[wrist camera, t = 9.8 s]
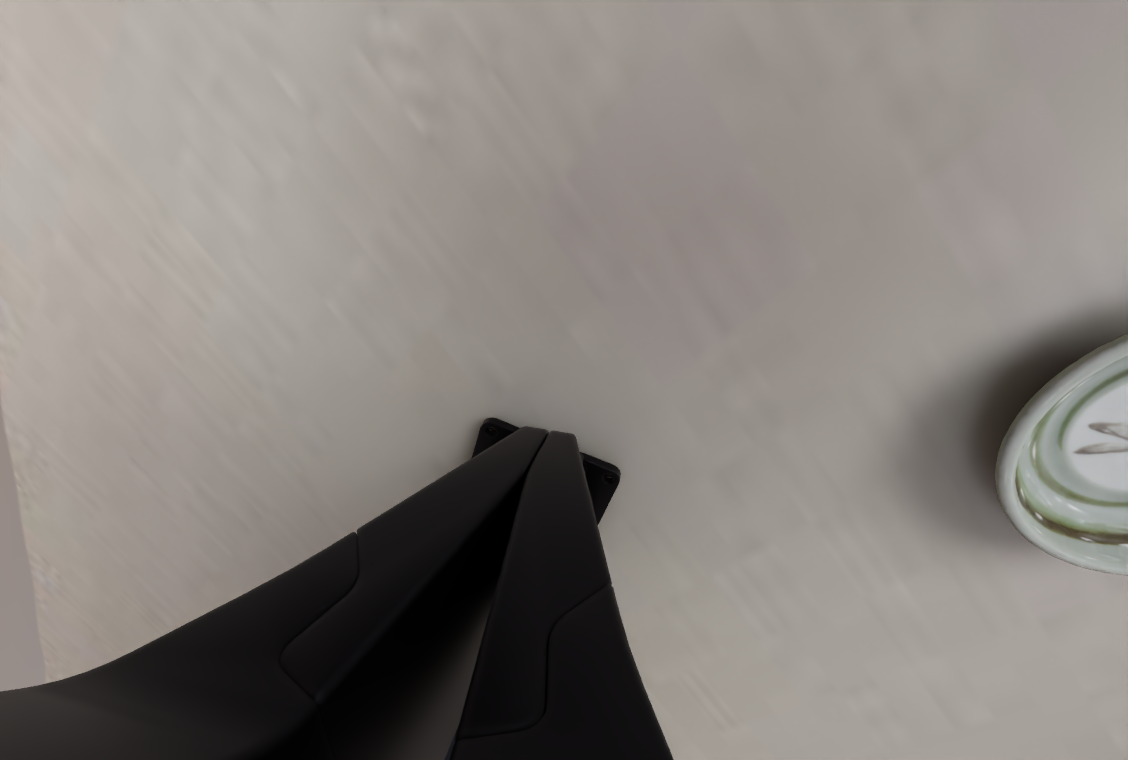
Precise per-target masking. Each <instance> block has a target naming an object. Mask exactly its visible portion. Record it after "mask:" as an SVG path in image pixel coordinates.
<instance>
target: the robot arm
mask: <svg viewBox="0 0 1128 760" xmlns="http://www.w3.org/2000/svg"><path fill="white" fill-rule="evenodd" d="M489 427H491V428H493V429H495V430H496V432H492V431H491V430H490V429H489ZM606 474H609V475H612V476H613V477H612V478H608V477H606V476H605V475H606ZM620 476H621V473H620V470H619V469H618V468H617V467H616V466H614V465H612V464H610V463H607V462H605V461H602V460H600V459H597V458H594V457H592V456H589V455H587V454H584V453H582V452H580V451H579V448H578V444H577V440H576V437H575V435H574V434H571V433H564V432H558V431H551V432H550V433H549V432H548V431H547V430H545V429H540V428H534V427H528V426H525V427H522V428H519V427H516V426H514V425H511V424H509V423H506V422H504V421H501V420H499V419H496V418H488V419H486V420H485V421H484V423H483V425H482V426H481V428H480V431H479V435H478V438H477V441H476V445H475V448H474V452H473V455H472V458H471V459H470V460H468V461H467V462H465V463H464V464H462V465H460V466H459V467H457V468H456V469H454V470H452V471H451V472H449V473H447V474H446V475H444V476H443V477H441V478H439V479H438V480H436V481H435V482H433V483H431V484H430V485H428V486H426V487H425V488H423V489H422V490H420V491H418V492H417V493H415V494H414V495H412V496H410V497H409V498H407V499H405V500H404V501H402V502H401V503H399V504H397V505H396V506H394V507H393V508H391V509H389V510H388V511H386V512H384V513H383V514H381V515H380V516H378V517H376V518H375V519H373V520H372V521H370V522H368V523H367V524H365V525H363V526H362V527H360V528H359V529H358V530H357V534H356V533H355V532H352V533H350V534H349V535H347V536H345V537H344V538H342V539H340V540H339V541H337V542H336V543H334V544H332V545H331V546H329V547H327V548H326V549H324V550H322V551H321V552H319V553H317V554H316V555H314V556H312V557H310V558H309V559H307V560H305V561H304V562H302V563H300V564H299V565H297V566H295V567H293V568H292V569H290V570H288V571H286V572H284V573H283V574H281V575H279V576H277V577H275V578H273V579H271V580H269V581H268V582H266V583H264V584H262V585H260V586H258V587H256V588H255V589H253V590H251V591H249V592H247V593H245V594H243V595H241V596H239V597H237V598H236V599H234V600H232V601H230V602H228V603H226V604H224V605H222V606H220V607H218V608H216V609H214V610H212V611H210V612H208V613H206V614H204V615H202V616H201V617H199V618H197V619H195V620H193V621H191V622H189V623H187V624H185V625H183V626H181V627H179V628H177V629H175V630H173V631H171V632H169V633H168V634H166V635H164V636H162V637H160V638H158V639H156V640H154V641H152V642H150V643H148V644H146V645H144V646H142V647H140V648H138V649H136V650H134V651H133V652H131V653H128V654H126V655H124V656H122V657H120V658H118V659H116V660H114V661H112V662H110V663H107V664H105V665H102V666H100V667H97V668H95V669H92V670H90V671H87V672H84V673H81V674H78V675H75V676H72V677H69V678H66V679H63V680H59V681H55V682H51V683H46V684H42V685H38V686H33V687H27V688H22V689H15V690H8V691H2V692H0V760H673V757H672V755H671V752H670V750H669V747H668V745H667V742H666V740H665V737H664V735H663V732H662V730H661V727H660V725H659V723H658V720H657V718H656V715H655V713H654V710H653V708H652V705H651V703H650V700H649V698H648V695H647V693H646V690H645V688H644V685H643V683H642V680H641V677H640V674H639V672H638V669H637V666H636V663H635V661H634V658H633V655H632V652H631V650H630V647H629V644H628V640H627V637H626V633H625V630H624V627H623V623H622V620H621V616H620V613H619V608H618V605H617V601H616V597H615V593H614V589H613V587H612V586H611V585H612V582H611V578H610V574H609V570H608V566H607V562H606V558H605V554H604V550H603V546H602V542H601V537H600V533H599V529H598V524H599V522H600V520H601V518H602V516H603V514H604V512H605V510H606V508H607V506H608V504H609V502H610V500H611V498H612V496H613V494H614V492H615V490H616V488H617V486H618V484H619V481H620Z"/></svg>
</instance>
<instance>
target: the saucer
mask: <svg viewBox="0 0 1128 760" xmlns="http://www.w3.org/2000/svg"><path fill="white" fill-rule="evenodd" d="M995 483H996V491H997V495H998V498H999V501H1000V503H1001V506H1002V508H1003V510H1004V512H1005V514H1006V516H1007V517H1008V519H1009V520H1010V522H1011V523H1012V524H1013V526H1014V527H1015V528H1016V529H1017V530H1018V531H1019V532H1020V534H1022V535H1023V536H1024V537H1025V538H1026V539H1027V540H1028V541H1029V542H1031V543H1032V544H1034V545H1035V546H1037V547H1038V548H1040V549H1041V550H1043V551H1045V552H1046V553H1048V554H1050V555H1052V556H1054V557H1056V558H1058V559H1061V560H1063V561H1066V562H1068V563H1071V564H1073V565H1076V566H1080V567H1083V568H1086V569H1091V570H1095V571H1100V572H1105V573H1111V574H1117V575H1127V576H1128V334H1126V335H1124V336H1121V337H1119V338H1117V339H1115V340H1113V341H1111V342H1109V343H1107V344H1104V345H1102V346H1100V347H1099V348H1097V349H1095V350H1093V351H1092V352H1090V353H1088V354H1086V355H1085V356H1083V357H1082V358H1080V359H1079V360H1078V361H1076V362H1074V363H1073V364H1071V365H1070V366H1068V367H1067V368H1066V369H1064V370H1063V371H1061V372H1060V373H1059V374H1057V375H1056V376H1055V377H1054V378H1052V379H1051V380H1050V381H1049V382H1048V383H1047V384H1046V385H1044V386H1043V387H1042V388H1041V389H1040V390H1039V391H1038V392H1037V393H1036V394H1035V395H1034V396H1033V397H1032V398H1031V399H1030V400H1029V401H1028V403H1027V404H1026V405H1025V406H1024V407H1023V408H1022V410H1021V411H1020V412H1019V413H1018V415H1017V416H1016V418H1015V419H1014V421H1013V422H1012V424H1011V426H1010V428H1009V429H1008V431H1007V433H1006V435H1005V437H1004V439H1003V440H1002V443H1001V446H1000V449H999V452H998V458H997V462H996V468H995Z"/></svg>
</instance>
